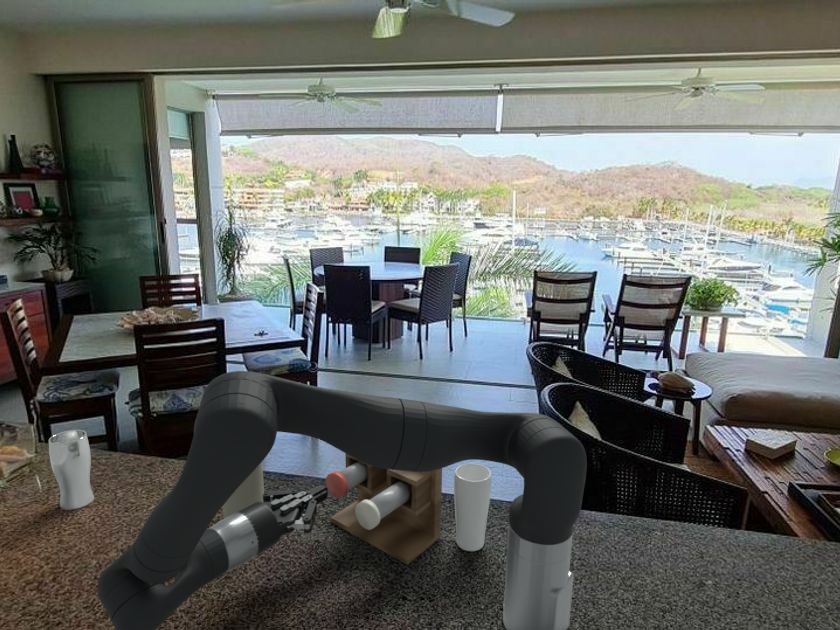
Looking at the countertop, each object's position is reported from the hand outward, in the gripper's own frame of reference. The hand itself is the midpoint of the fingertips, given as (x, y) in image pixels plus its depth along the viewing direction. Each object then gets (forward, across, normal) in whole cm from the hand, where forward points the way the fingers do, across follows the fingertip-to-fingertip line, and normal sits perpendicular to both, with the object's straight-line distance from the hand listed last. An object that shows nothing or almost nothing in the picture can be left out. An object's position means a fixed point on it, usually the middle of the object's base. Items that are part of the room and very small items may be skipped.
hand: (324, 490), depth 97 cm
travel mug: (-5, +19, +11) cm, 23 cm away
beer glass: (-24, +51, +12) cm, 57 cm away
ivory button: (+4, -11, +2) cm, 12 cm away
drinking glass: (+17, -21, +11) cm, 29 cm away
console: (+10, -6, +11) cm, 16 cm away
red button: (+7, 0, +2) cm, 8 cm away
